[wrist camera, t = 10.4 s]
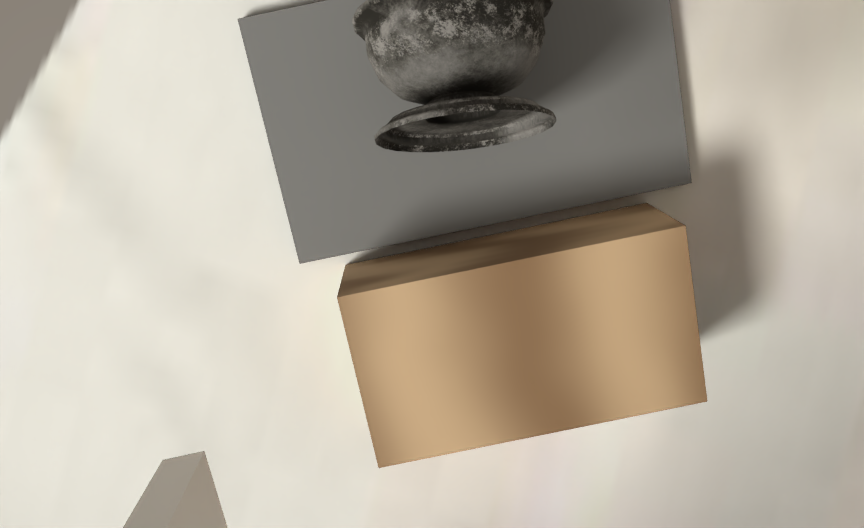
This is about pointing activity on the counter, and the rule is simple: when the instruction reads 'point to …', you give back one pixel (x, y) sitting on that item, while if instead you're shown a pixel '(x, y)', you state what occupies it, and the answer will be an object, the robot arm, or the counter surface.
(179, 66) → the counter surface
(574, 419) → the light wooden rectangular block
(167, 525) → the robot arm
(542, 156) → the grey rubber mat
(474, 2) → the dark grey tall piece
